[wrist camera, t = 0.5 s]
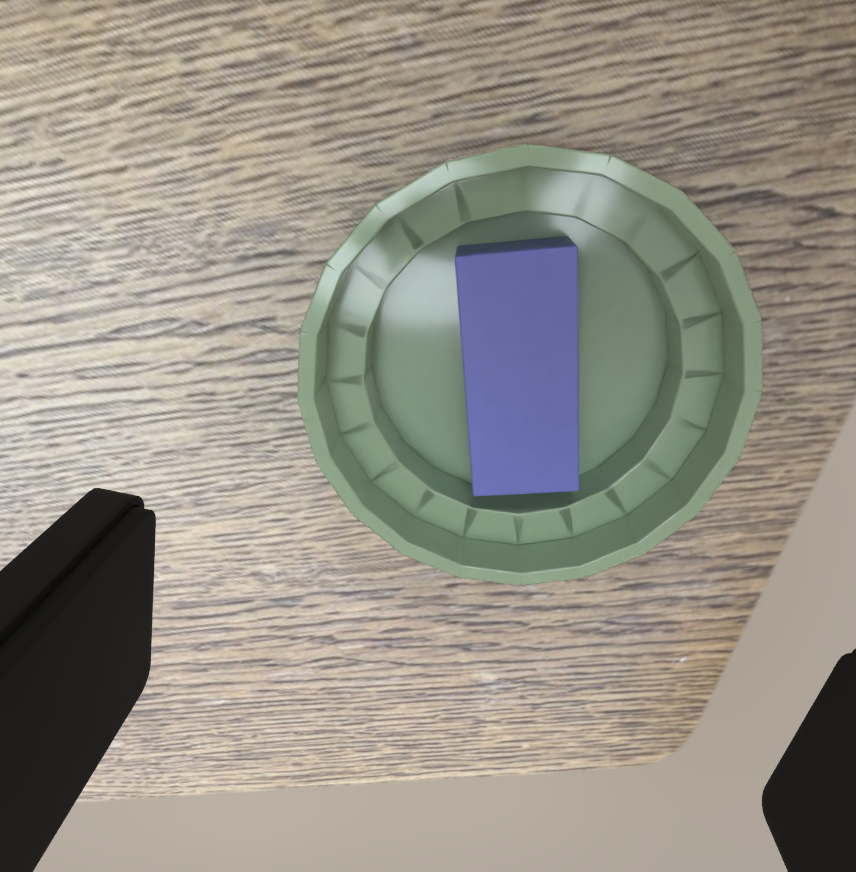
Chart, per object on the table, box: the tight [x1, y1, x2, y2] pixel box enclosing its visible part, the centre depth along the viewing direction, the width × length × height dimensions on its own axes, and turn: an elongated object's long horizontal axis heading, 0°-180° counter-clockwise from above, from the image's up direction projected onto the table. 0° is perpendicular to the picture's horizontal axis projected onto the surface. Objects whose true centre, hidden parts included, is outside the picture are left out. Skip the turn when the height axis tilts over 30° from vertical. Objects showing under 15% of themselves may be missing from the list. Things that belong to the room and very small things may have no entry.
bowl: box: [297, 143, 763, 586], centre depth 24 cm, size 15×15×4 cm
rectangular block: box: [455, 236, 579, 496], centre depth 25 cm, size 9×4×2 cm, turn 6°
